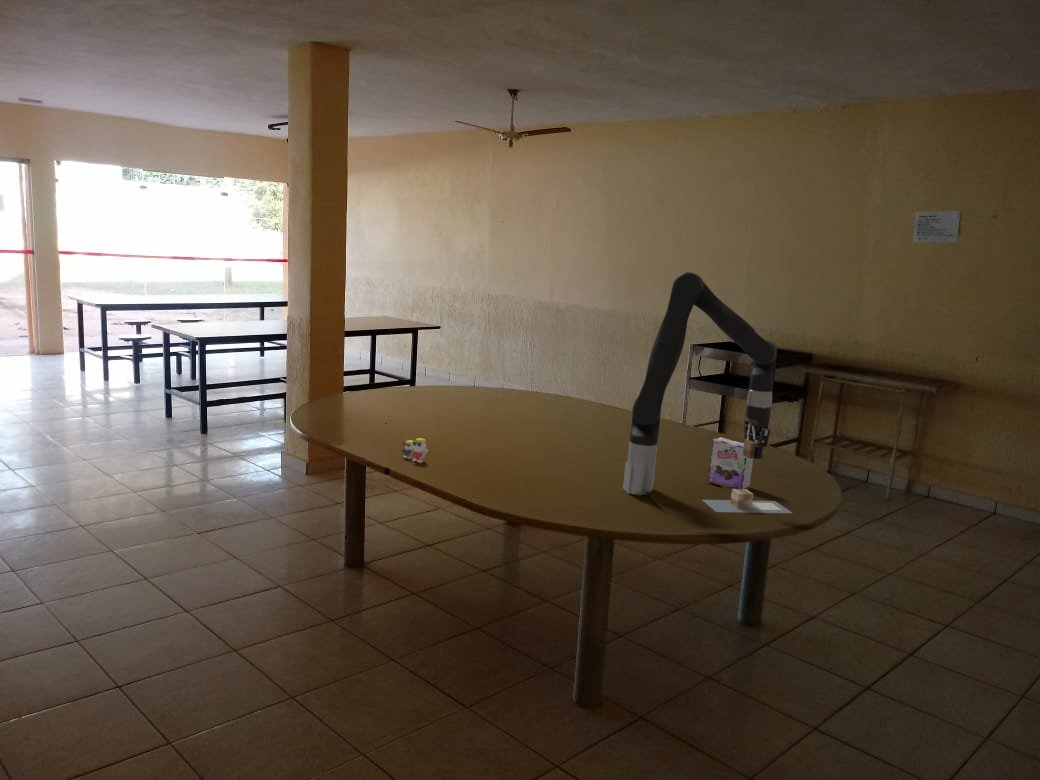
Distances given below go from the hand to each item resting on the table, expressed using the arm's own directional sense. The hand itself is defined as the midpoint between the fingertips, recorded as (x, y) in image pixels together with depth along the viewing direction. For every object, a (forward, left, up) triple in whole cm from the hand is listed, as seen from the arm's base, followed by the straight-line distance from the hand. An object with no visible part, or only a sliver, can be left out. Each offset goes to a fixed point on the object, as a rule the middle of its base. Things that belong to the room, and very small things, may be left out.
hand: (753, 456), depth 252 cm
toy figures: (-105, +51, -18) cm, 118 cm away
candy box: (+5, +26, -18) cm, 32 cm away
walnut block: (0, 0, 0) cm, 0 cm away
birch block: (-2, +1, -17) cm, 17 cm away
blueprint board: (0, +1, -18) cm, 18 cm away
